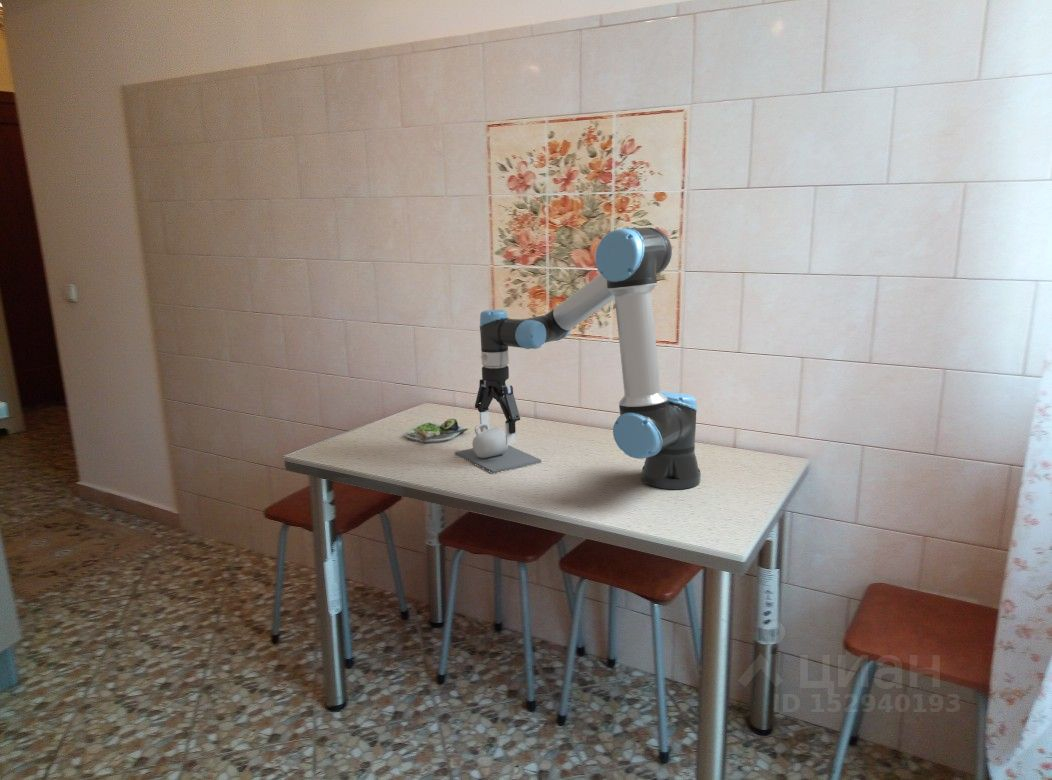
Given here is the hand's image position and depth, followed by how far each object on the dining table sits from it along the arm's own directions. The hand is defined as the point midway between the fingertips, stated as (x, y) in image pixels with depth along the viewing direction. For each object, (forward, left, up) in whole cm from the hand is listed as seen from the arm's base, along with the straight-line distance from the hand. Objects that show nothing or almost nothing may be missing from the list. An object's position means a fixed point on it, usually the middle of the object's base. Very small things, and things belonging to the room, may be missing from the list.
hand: (497, 438), depth 209 cm
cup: (+2, +7, -1) cm, 7 cm away
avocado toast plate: (+32, +3, -7) cm, 33 cm away
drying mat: (0, 0, -6) cm, 6 cm away
